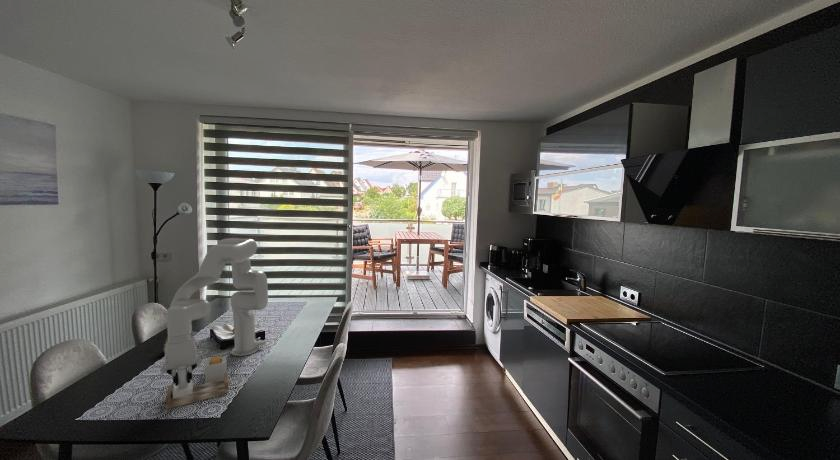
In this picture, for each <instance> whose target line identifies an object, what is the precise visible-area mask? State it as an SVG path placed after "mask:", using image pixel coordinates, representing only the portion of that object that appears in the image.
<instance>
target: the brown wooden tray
mask: <svg viewBox="0 0 840 460" xmlns="http://www.w3.org/2000/svg"><path fill="white" fill-rule="evenodd" d="M173 390H174V387H173V385H168V387H167V391H166V395H165V404H166V410H169V409H172V408H177V407H180V406H184V405H187V404H192V403H195V402H199V401H202V400H207V399H211V398H214V397H217V396H221V395H225V394H229V379H228V372H227V373H224V379H222V380H218V381H214V382H210V383H206V384H205V383H202V384H198V385H193V393H192V394H189V395H185V396H181V397H177V398H173Z"/></svg>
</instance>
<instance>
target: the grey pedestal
mask: <svg viewBox="0 0 840 460" xmlns="http://www.w3.org/2000/svg"><path fill="white" fill-rule="evenodd" d="M176 372H177V376H178V385H177V386H175V384H174V386H173V398H177V397H181V396H185V395H189V394H192V393H193V386H194V380H193V379H191V380H190V383H188V380H187V372H188V367H187V366H183V367H179V368H176Z"/></svg>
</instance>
